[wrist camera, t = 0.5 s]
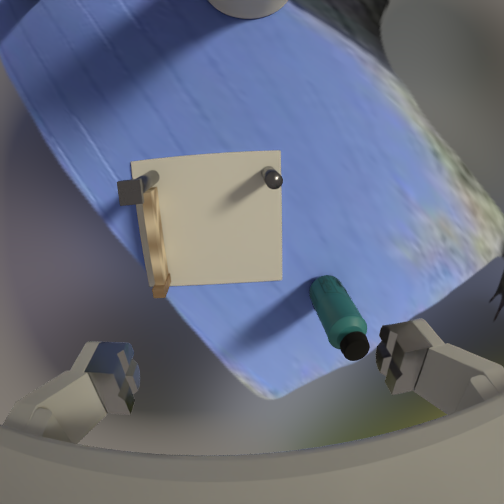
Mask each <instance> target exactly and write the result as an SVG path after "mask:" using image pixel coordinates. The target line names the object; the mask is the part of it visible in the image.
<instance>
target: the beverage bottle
mask: <svg viewBox="0 0 504 504" xmlns="http://www.w3.org/2000/svg"><path fill="white" fill-rule="evenodd" d="M309 291H310V298H311V300H312V301H311V302H313V304H312V305H314V306H313V307H315V310H316V312H317V314H318V316H319V319H320V321H321V323H322V325H323V327H324V329H325V332H326V334H327V336H328V340H329V342H330V344H331V345H332V346H333V347H335V348H337V349H341V352H342V353H343V354H344V356H345V358H346V359H348V360H351V361H356V360H359V359H361V358H363V357H364V356H365V355H366V354H367V353H368V351H369V348H370V346H369V342H368V340H367V337H366V332H367V324H366V322H365V320H364V319H363V318H362V316H361V315H360V313H359V310H357V308H356V306H355V305H354V303H353V301H352V300H351V298H350V297H349V294H348V293H347V292H346V291H347V290H345V288H344V287H343V285H342V284H341V282H340V280H338V279H337V278H335V277H334V276H329V275H326V276H321V277H319V278H317V279H316V280H315V281H314V282H313V283H312V285H311V287H310V290H309Z"/></svg>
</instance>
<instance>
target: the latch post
mask: <svg viewBox="0 0 504 504" xmlns="http://www.w3.org/2000/svg"><path fill="white" fill-rule="evenodd" d="M261 175H262V177H263V179H264V181H265V183H266V185H267V186H268V187H269V188H270V189H278V188H280V187H281V185H282V183H283V179H282V176H281V175H280V174H279V173H278V172H277V171H276V170H275V169H274V168H273V167H271V166H266V167H264V168H263V169H262V171H261Z"/></svg>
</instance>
